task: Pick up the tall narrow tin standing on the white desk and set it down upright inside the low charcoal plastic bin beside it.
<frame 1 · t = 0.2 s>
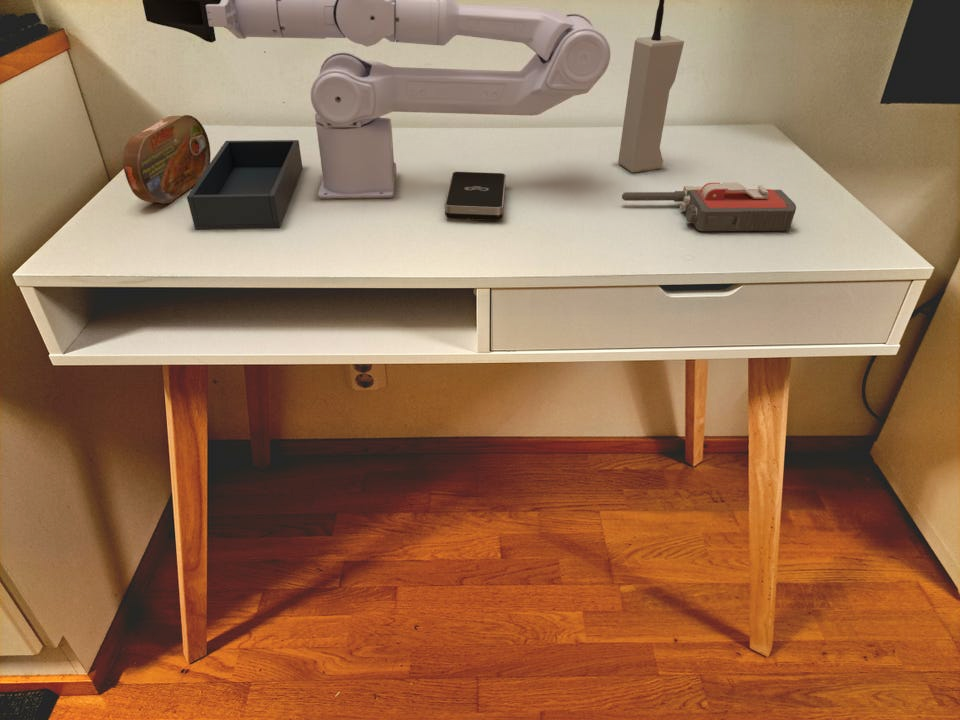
hand: (157, 6, 75), 21 cm above the table, tool horizontal, fingers open, 7 cm apart
tin: (177, 191, 88), on the table
external hard drive: (476, 205, 86), on the table
walkie-talkie: (706, 218, 83), on the table
vintage mobile phone: (639, 168, 97), on the table
bin: (253, 196, 87), on the table
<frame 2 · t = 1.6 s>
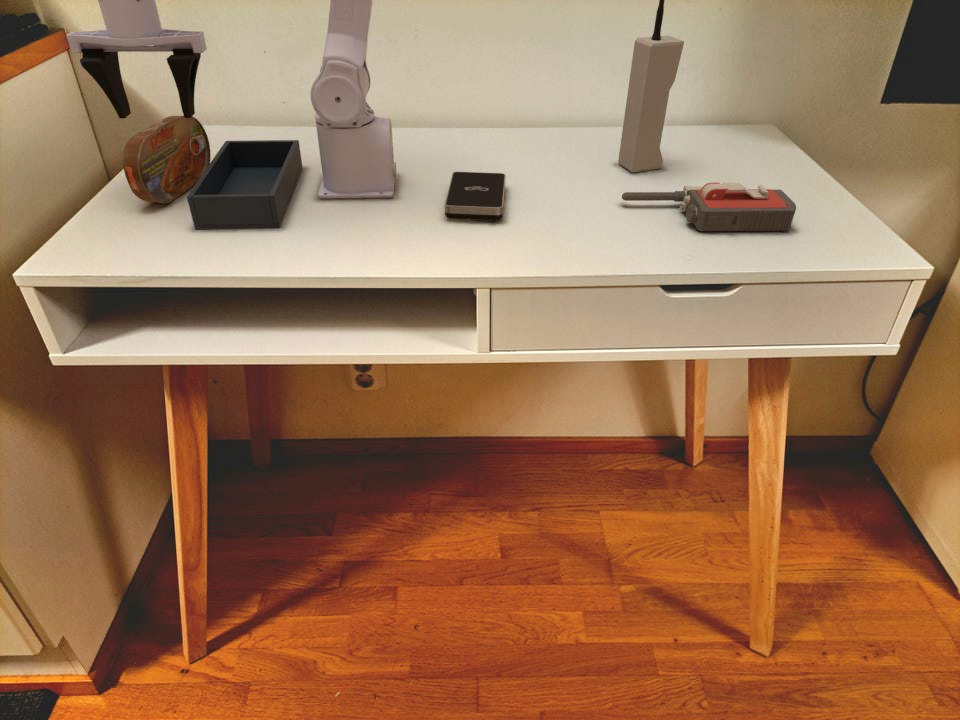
hand: (157, 115, 82), 9 cm above the table, tool pointing down, fingers open, 7 cm apart
nothing on the table moved.
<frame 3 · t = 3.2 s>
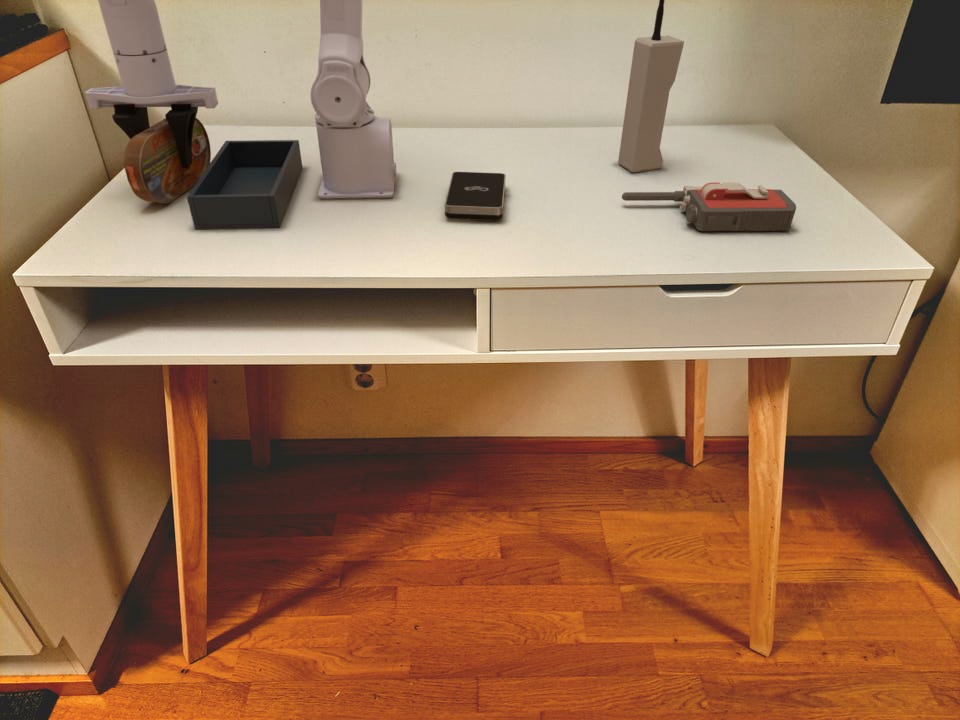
hand: (170, 165, 86), 3 cm above the table, tool pointing down, fingers closed on tin, 4 cm apart
tin: (177, 190, 88), on the table, touching gripper
everything else where it was.
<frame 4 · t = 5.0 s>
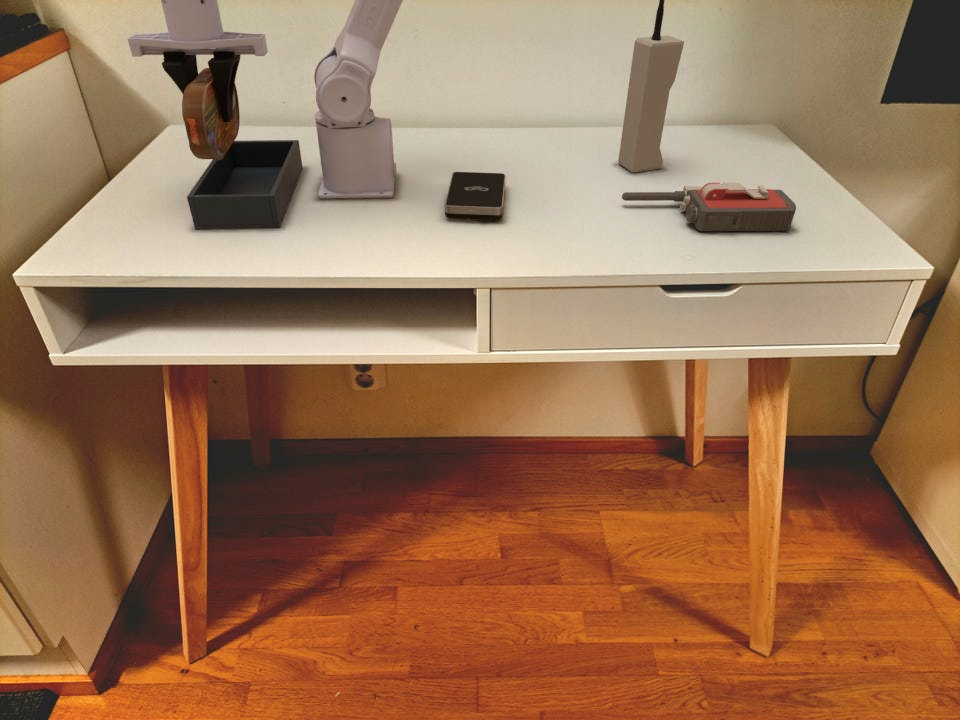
hand: (215, 119, 81), 10 cm above the table, tool pointing down, fingers closed on tin, 2 cm apart
tin: (217, 148, 83), point 6 cm above the table, touching gripper
everything else where it was.
when the fingers open (4 cm above the table, at t = 6.7 s): tin stays where it is, resting on bin.
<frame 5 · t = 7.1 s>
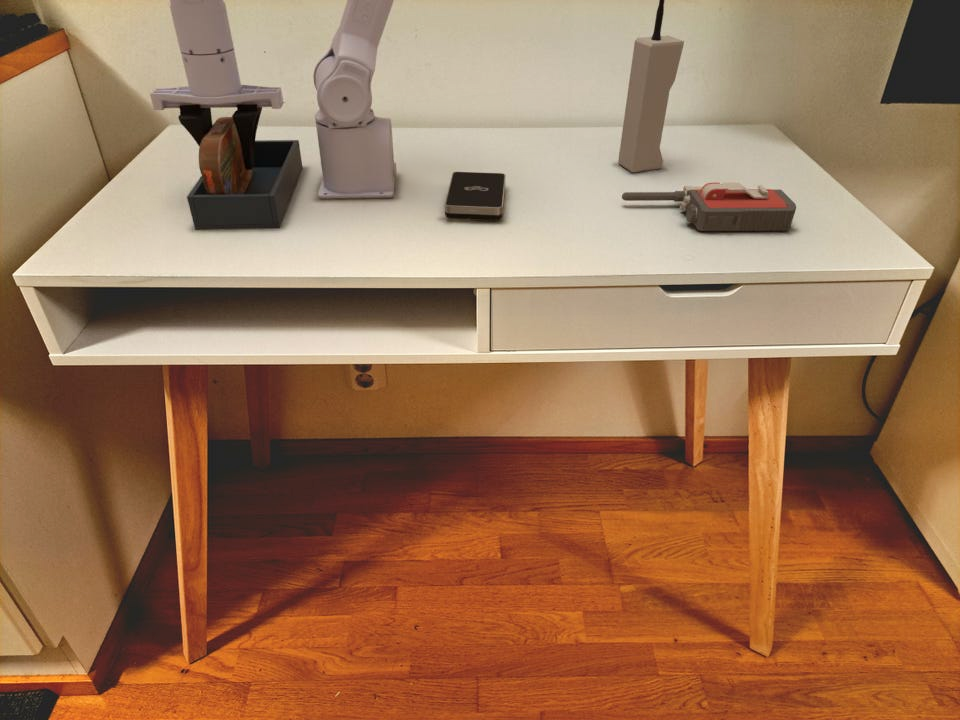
hand: (232, 167, 84), 4 cm above the table, tool pointing down, fingers open, 4 cm apart
tin: (232, 194, 86), resting on bin, touching gripper
everything else where it was.
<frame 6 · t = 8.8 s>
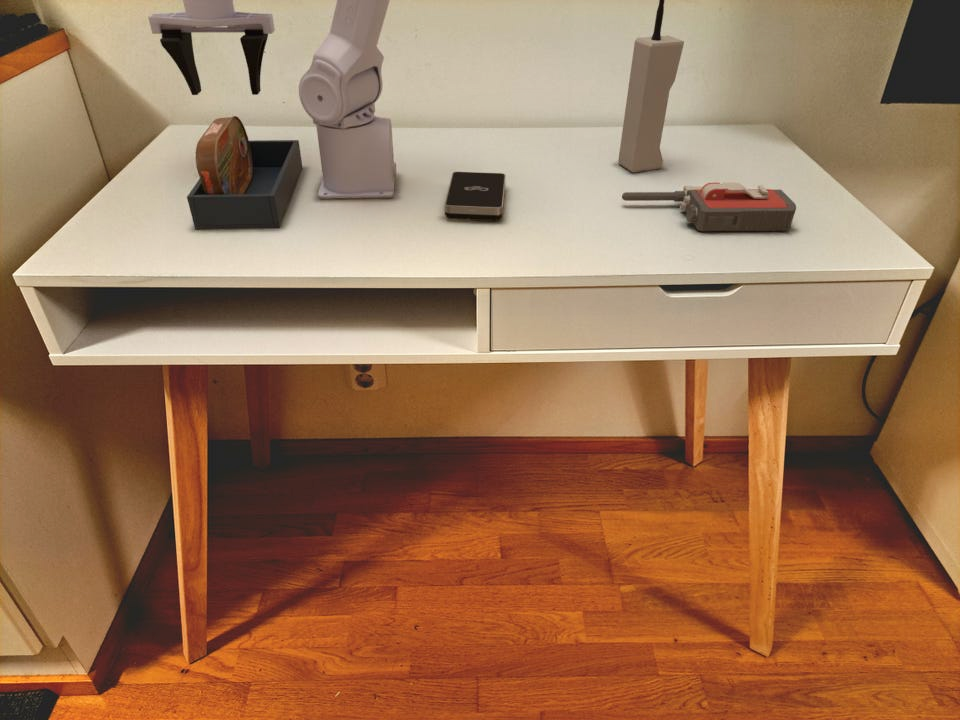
hand: (226, 92, 89), 10 cm above the table, tool pointing down, fingers open, 7 cm apart
tin: (233, 194, 86), resting on bin
everything else where it was.
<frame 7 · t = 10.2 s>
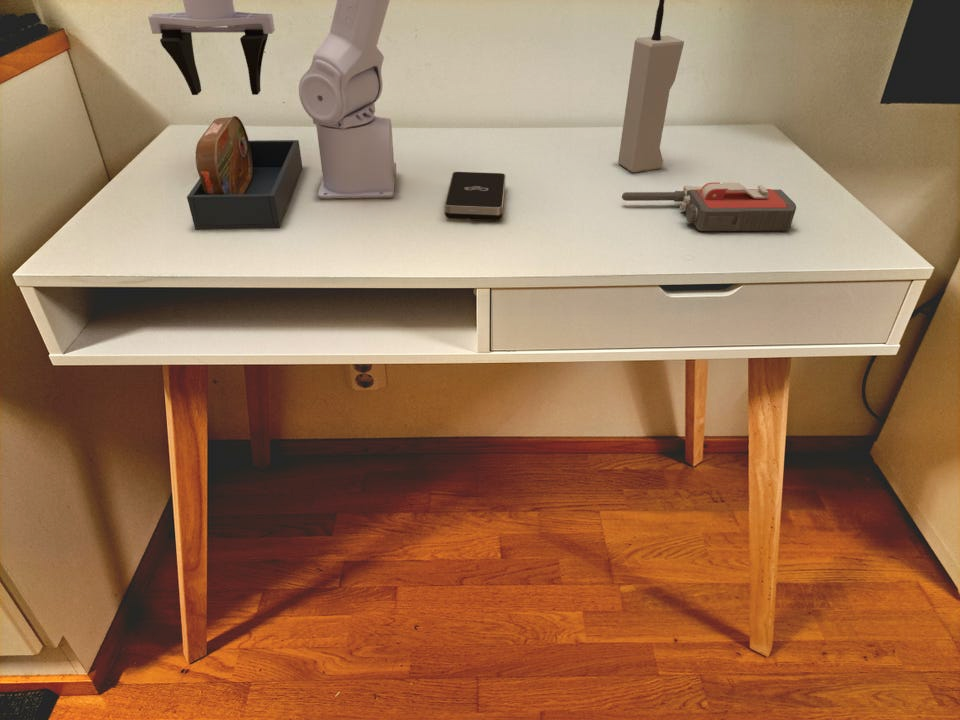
hand: (226, 92, 89), 10 cm above the table, tool pointing down, fingers open, 7 cm apart
nothing on the table moved.
at the end: tin inside the target area in the bin (2.5 cm from its centre), point 0.3 cm above the bin's base; tin tilted 0° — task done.
